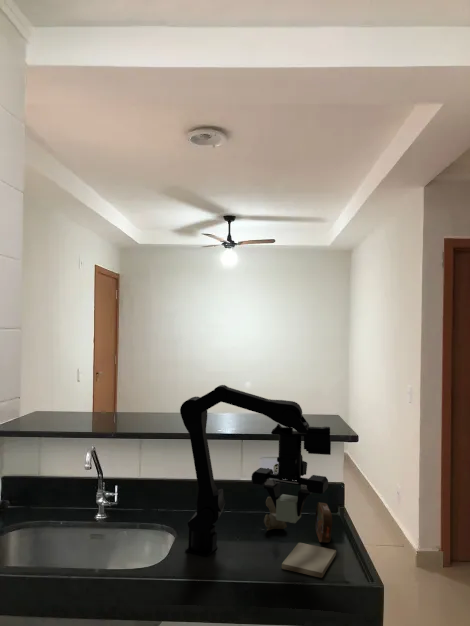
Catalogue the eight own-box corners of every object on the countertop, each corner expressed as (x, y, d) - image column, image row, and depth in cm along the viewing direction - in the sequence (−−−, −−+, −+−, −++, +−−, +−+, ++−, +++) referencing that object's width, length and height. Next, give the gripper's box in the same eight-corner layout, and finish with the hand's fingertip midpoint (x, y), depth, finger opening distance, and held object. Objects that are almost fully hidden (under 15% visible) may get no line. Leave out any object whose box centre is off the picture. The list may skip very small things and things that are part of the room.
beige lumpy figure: (284, 531, 149) (269, 496, 152) (265, 539, 151) (250, 505, 154) (294, 523, 157) (279, 490, 160) (276, 531, 159) (261, 498, 162)
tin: (314, 526, 158) (315, 497, 158) (325, 526, 158) (326, 498, 158) (320, 548, 143) (321, 516, 143) (332, 548, 143) (333, 516, 143)
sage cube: (276, 519, 134) (276, 499, 134) (282, 513, 139) (282, 494, 139) (295, 523, 132) (295, 502, 132) (301, 516, 137) (301, 497, 137)
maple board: (281, 568, 130) (281, 563, 130) (298, 546, 143) (298, 542, 143) (321, 577, 126) (322, 572, 126) (335, 554, 139) (336, 550, 139)
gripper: (333, 449, 139) (332, 510, 139) (266, 441, 147) (265, 499, 147) (322, 459, 129) (321, 524, 129) (251, 450, 137) (250, 512, 136)
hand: (288, 514), depth 135 cm, fingers closed on sage cube, 5 cm apart
